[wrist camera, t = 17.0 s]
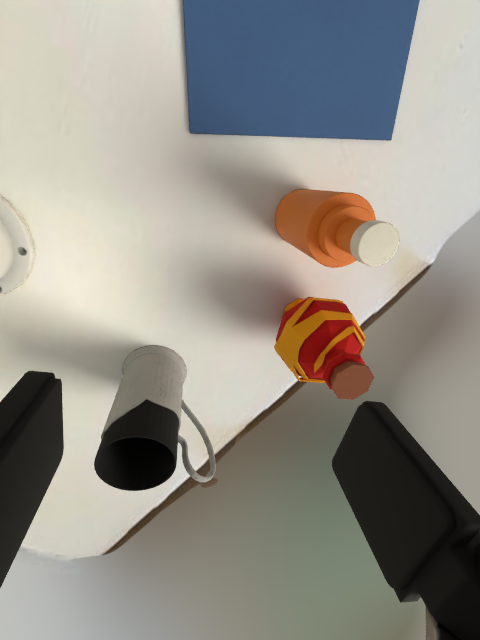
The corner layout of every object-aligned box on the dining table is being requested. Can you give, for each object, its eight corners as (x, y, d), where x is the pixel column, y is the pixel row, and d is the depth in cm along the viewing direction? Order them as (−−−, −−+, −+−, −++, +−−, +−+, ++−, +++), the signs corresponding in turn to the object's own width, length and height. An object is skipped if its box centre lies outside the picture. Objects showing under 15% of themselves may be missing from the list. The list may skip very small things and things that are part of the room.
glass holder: (145, 334, 38) (120, 416, 25) (227, 383, 44) (242, 473, 30) (109, 378, 40) (68, 476, 27) (192, 420, 46) (191, 519, 32)
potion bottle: (294, 265, 37) (350, 314, 24) (349, 304, 41) (426, 364, 27) (248, 329, 40) (275, 403, 27) (304, 359, 44) (352, 438, 30)
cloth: (190, 133, 30) (190, 133, 29) (175, -150, 22) (174, -155, 21) (389, 140, 32) (391, 140, 32) (439, -108, 25) (442, -111, 24)
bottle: (268, 238, 35) (323, 280, 20) (283, 183, 33) (356, 185, 18) (315, 248, 37) (397, 294, 22) (332, 196, 34) (438, 207, 19)
